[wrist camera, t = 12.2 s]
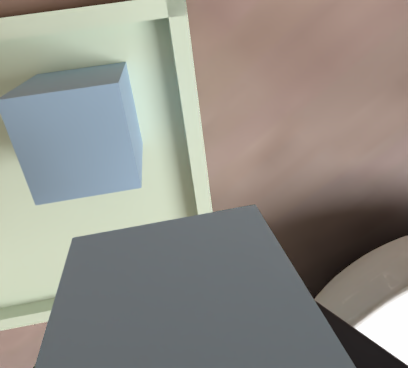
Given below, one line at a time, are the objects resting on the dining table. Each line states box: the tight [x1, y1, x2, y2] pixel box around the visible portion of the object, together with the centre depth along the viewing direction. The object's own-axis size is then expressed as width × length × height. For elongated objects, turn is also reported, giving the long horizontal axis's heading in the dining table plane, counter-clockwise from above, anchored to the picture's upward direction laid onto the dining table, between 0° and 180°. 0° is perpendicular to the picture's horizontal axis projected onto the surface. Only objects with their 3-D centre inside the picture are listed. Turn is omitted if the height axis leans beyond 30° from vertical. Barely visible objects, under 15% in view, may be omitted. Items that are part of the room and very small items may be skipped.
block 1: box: [0, 62, 143, 205], centre depth 15 cm, size 4×4×5 cm
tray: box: [0, 0, 212, 331], centre depth 19 cm, size 16×16×2 cm
